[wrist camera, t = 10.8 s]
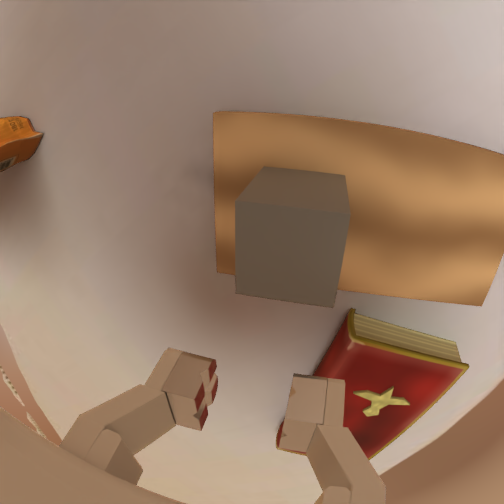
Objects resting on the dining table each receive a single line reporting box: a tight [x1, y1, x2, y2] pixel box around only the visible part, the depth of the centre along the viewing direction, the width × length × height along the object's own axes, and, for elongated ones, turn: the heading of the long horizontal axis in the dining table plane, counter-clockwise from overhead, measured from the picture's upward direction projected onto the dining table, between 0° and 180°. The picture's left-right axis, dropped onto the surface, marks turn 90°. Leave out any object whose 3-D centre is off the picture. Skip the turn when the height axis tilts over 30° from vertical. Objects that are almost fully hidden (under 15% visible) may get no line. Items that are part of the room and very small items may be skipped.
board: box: [213, 111, 504, 306], centre depth 20 cm, size 12×22×1 cm, turn 89°
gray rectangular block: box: [235, 166, 351, 308], centre depth 18 cm, size 5×5×7 cm
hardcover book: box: [276, 308, 469, 460], centre depth 29 cm, size 12×21×4 cm, turn 167°
